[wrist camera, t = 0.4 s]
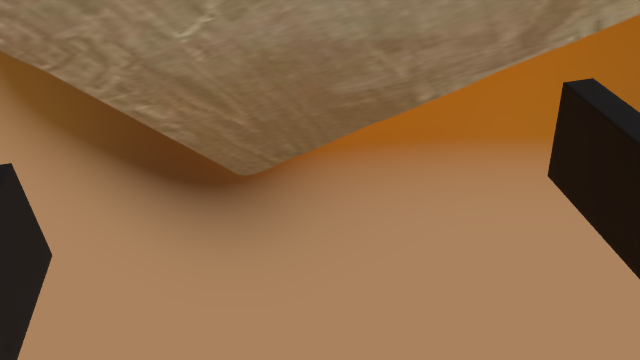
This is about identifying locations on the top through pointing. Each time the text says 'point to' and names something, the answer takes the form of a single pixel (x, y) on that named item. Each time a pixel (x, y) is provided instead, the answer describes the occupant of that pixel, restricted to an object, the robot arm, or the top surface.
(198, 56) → the top surface
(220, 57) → the top surface
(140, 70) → the top surface
